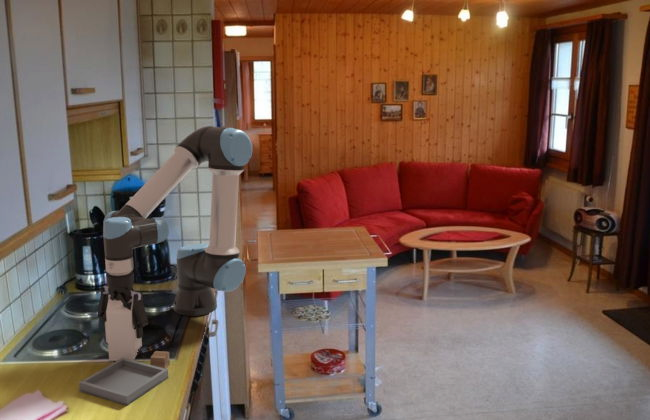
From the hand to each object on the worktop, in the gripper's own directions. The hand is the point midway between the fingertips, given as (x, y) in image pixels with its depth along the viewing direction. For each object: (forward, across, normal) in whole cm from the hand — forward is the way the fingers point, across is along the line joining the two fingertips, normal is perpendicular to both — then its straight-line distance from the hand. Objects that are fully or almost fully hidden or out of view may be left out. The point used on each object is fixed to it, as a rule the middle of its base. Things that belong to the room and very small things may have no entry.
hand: (123, 344), depth 178 cm
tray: (+4, +12, -13) cm, 18 cm away
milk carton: (+4, 0, 0) cm, 4 cm away
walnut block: (+4, +14, -1) cm, 15 cm away
